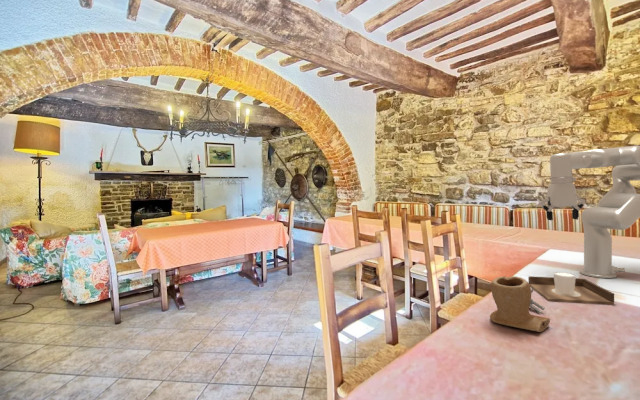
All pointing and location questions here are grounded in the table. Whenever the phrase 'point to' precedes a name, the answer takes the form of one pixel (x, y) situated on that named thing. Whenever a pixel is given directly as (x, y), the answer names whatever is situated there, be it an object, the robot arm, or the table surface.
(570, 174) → the robot arm
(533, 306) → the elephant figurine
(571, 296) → the corner board
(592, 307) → the table surface
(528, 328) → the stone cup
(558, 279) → the shot glass
